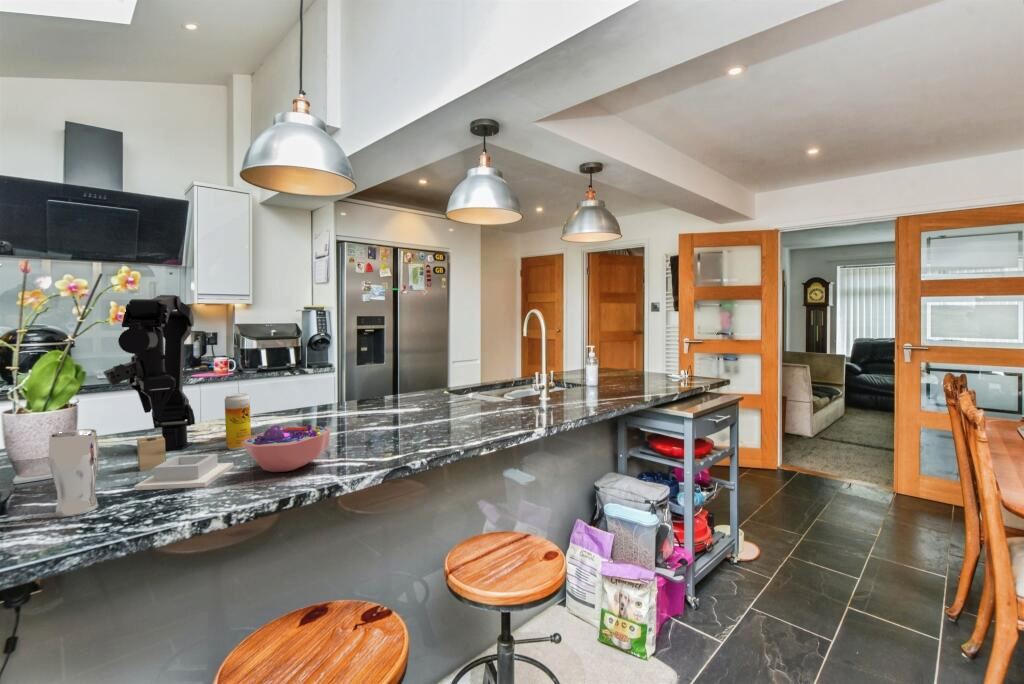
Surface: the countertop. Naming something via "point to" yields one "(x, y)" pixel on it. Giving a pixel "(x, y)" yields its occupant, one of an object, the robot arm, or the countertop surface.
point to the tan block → (151, 452)
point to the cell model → (287, 447)
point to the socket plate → (185, 472)
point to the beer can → (237, 420)
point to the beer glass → (74, 470)
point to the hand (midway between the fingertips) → (152, 414)
